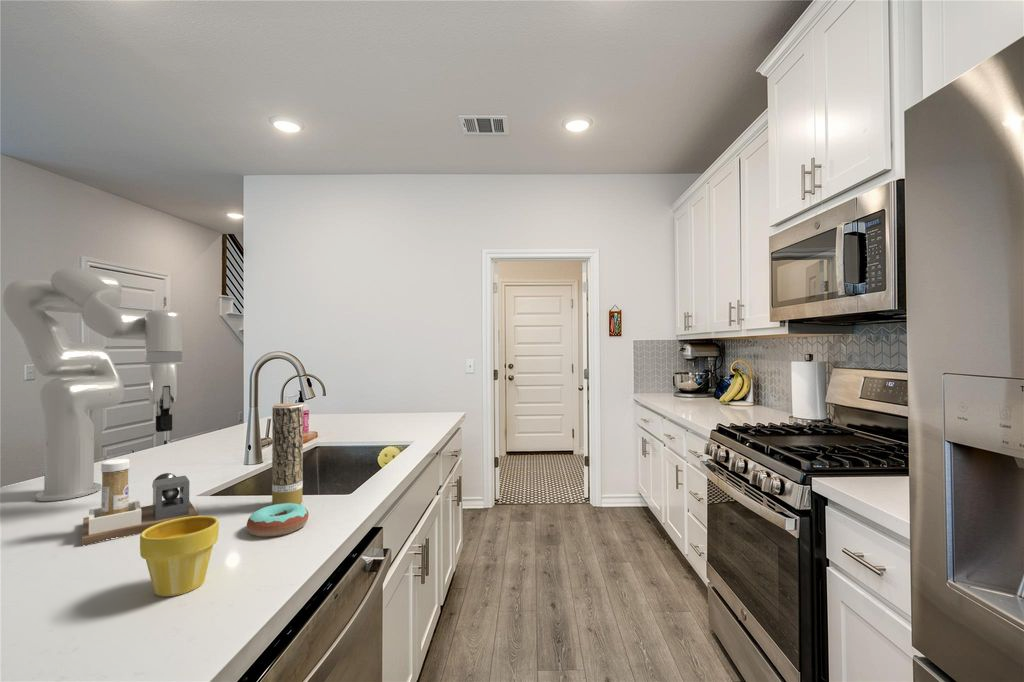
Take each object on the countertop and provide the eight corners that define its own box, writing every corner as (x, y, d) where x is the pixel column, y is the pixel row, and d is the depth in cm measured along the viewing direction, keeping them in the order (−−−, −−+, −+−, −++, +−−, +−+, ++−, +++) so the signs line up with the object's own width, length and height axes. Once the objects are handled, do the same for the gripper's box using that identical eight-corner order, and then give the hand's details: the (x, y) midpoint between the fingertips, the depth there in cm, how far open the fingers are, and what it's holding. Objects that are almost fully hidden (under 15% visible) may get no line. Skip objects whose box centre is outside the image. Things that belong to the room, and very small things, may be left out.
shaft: (152, 496, 108) (152, 475, 108) (177, 491, 112) (178, 471, 112) (157, 507, 100) (157, 485, 100) (184, 502, 104) (184, 480, 104)
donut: (318, 527, 98) (318, 508, 99) (260, 545, 89) (260, 525, 89) (293, 514, 106) (293, 497, 106) (237, 530, 97) (237, 511, 97)
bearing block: (152, 513, 102) (153, 480, 102) (185, 507, 106) (185, 475, 106) (155, 521, 98) (155, 486, 98) (189, 513, 102) (189, 480, 102)
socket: (88, 523, 96) (89, 509, 97) (138, 513, 102) (138, 500, 102) (88, 535, 90) (88, 520, 91) (141, 524, 96) (141, 510, 96)
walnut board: (83, 524, 100) (83, 517, 100) (187, 504, 113) (187, 498, 113) (82, 546, 89) (82, 538, 89) (198, 520, 102) (198, 514, 102)
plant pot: (188, 566, 80) (189, 511, 80) (232, 575, 77) (233, 518, 77) (123, 597, 70) (123, 534, 71) (170, 608, 67) (171, 543, 67)
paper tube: (308, 501, 114) (308, 403, 114) (287, 511, 108) (287, 406, 108) (287, 499, 116) (288, 402, 117) (265, 507, 110) (266, 405, 110)
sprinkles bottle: (127, 524, 96) (127, 461, 96) (98, 529, 93) (99, 464, 94) (130, 517, 100) (131, 457, 100) (102, 522, 97) (103, 460, 97)
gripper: (142, 359, 118) (142, 429, 117) (147, 359, 107) (147, 437, 106) (178, 358, 123) (178, 425, 122) (186, 358, 112) (186, 432, 111)
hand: (164, 430), depth 114 cm, fingers closed
